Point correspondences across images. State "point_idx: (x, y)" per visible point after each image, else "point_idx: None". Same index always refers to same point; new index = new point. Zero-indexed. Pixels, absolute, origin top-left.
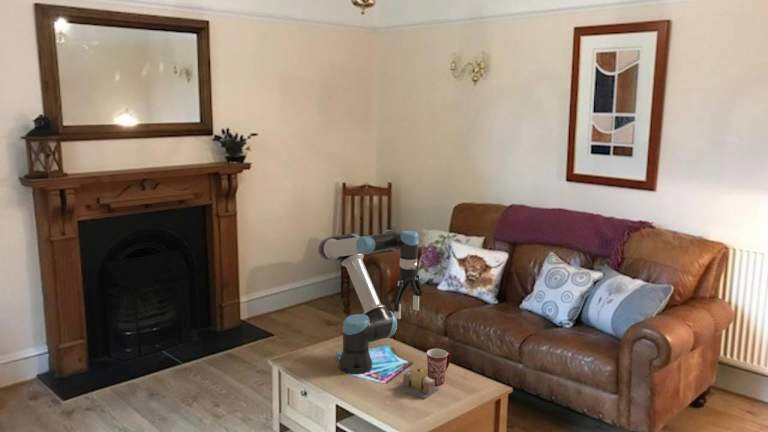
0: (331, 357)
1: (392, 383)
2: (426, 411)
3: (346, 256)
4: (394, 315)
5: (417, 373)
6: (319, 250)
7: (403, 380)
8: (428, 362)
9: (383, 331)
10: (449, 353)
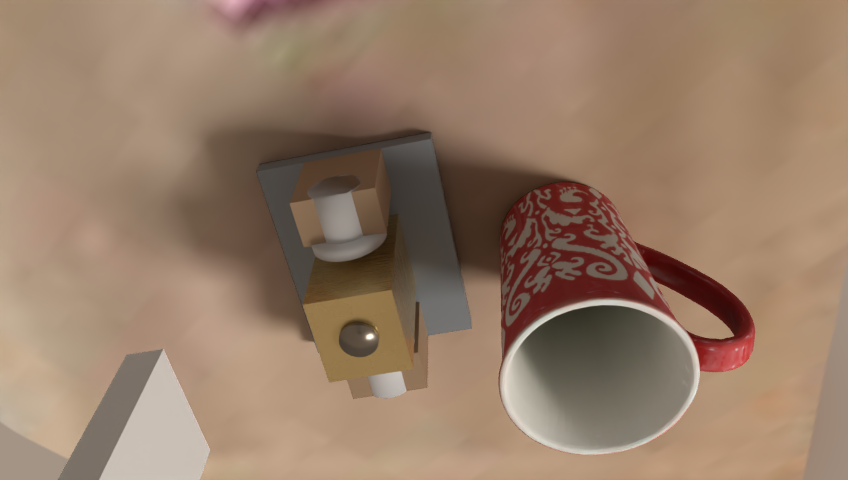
0: None
1: (275, 61)
2: (238, 427)
3: None
4: (109, 389)
5: (320, 346)
6: None
7: (298, 180)
8: (506, 311)
9: None
10: (743, 363)
